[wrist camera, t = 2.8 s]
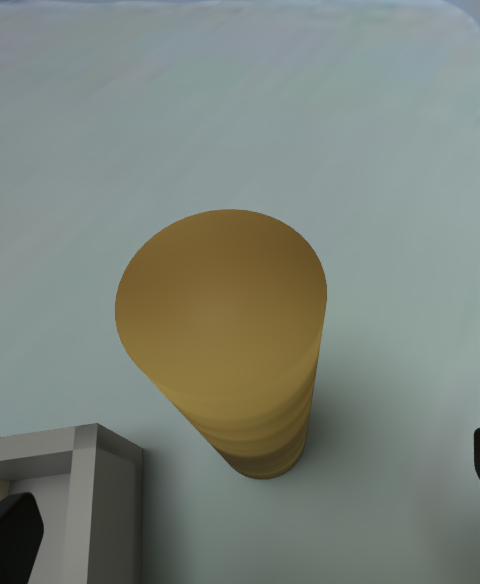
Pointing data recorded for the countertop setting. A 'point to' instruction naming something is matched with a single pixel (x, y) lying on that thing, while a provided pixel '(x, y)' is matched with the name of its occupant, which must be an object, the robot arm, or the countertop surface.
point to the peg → (230, 331)
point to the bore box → (80, 502)
